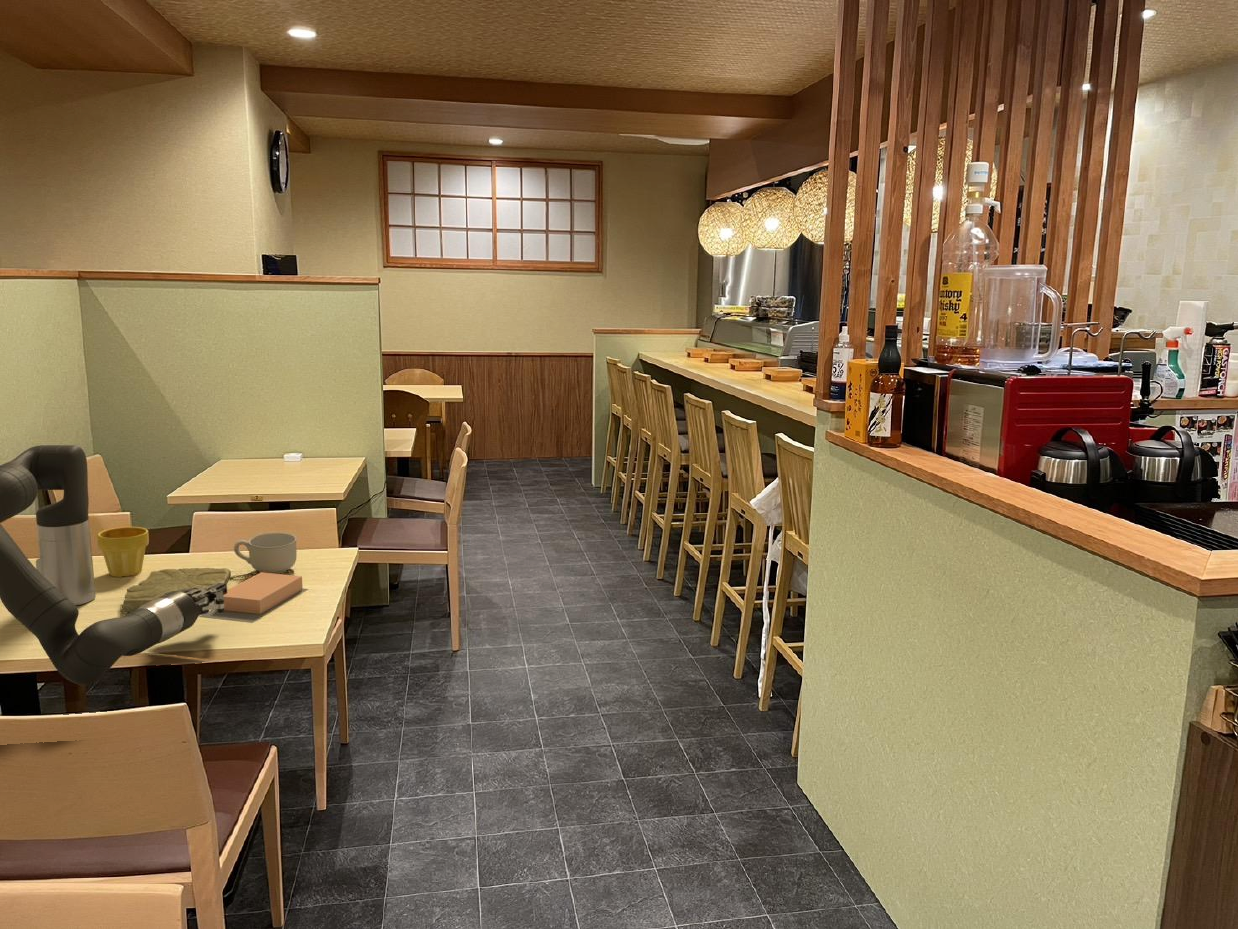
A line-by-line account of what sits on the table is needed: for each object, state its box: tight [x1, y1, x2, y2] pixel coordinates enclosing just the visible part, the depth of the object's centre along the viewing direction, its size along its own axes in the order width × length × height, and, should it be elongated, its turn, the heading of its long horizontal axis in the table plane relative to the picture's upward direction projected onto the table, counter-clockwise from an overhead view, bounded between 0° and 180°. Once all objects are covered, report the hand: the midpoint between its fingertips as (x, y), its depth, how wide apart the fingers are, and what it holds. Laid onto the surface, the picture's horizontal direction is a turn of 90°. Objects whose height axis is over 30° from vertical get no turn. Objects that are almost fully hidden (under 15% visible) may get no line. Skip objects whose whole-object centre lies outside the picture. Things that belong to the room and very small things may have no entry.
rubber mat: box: [198, 588, 309, 624], centre depth 189 cm, size 12×21×1 cm, turn 169°
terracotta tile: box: [223, 572, 304, 614], centre depth 191 cm, size 10×3×16 cm
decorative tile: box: [122, 567, 232, 613], centre depth 193 cm, size 19×20×4 cm
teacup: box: [233, 532, 298, 574], centre depth 210 cm, size 14×11×8 cm
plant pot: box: [97, 526, 150, 578], centre depth 206 cm, size 10×10×10 cm
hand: (223, 587), depth 177 cm, fingers closed
